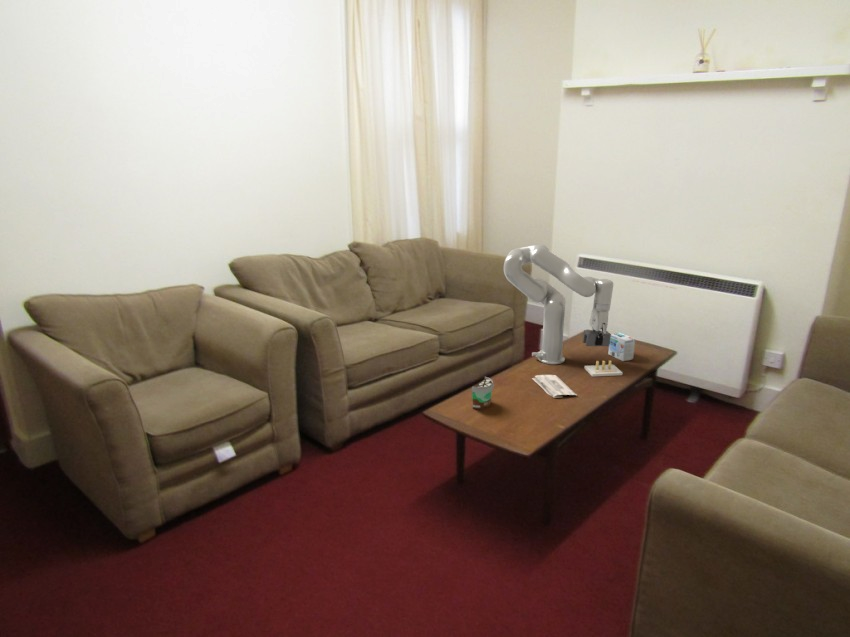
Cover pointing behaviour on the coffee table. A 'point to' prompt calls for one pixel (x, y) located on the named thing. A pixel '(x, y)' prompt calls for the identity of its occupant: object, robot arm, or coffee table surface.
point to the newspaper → (553, 385)
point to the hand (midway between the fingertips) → (596, 342)
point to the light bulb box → (621, 346)
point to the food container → (482, 394)
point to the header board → (603, 369)
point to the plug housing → (591, 338)
